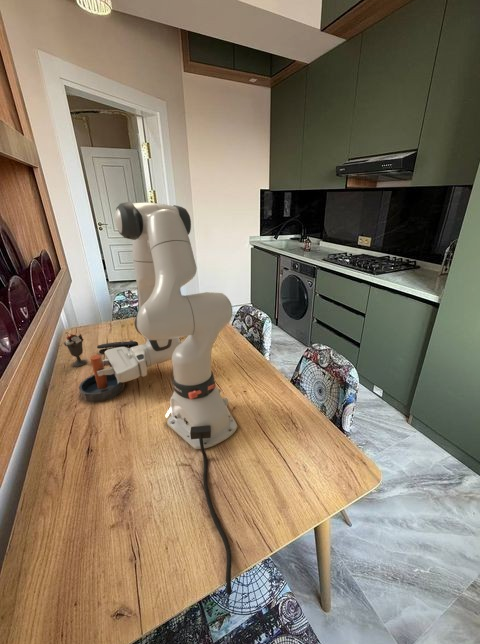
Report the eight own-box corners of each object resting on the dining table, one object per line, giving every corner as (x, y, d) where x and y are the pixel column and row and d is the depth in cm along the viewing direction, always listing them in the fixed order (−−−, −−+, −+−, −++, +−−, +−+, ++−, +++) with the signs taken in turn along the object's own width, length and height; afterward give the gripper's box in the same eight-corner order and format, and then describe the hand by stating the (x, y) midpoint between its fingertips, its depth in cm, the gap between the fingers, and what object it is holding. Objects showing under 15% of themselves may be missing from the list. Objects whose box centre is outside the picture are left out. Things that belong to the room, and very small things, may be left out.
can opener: (142, 349, 130) (140, 338, 127) (136, 357, 123) (133, 345, 121) (103, 348, 130) (100, 337, 127) (94, 356, 123) (91, 344, 121)
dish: (129, 392, 101) (127, 384, 100) (85, 408, 93) (82, 399, 92) (119, 375, 111) (117, 367, 109) (78, 387, 103) (76, 379, 102)
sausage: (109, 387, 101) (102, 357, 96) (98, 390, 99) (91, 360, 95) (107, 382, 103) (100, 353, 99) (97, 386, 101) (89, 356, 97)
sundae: (67, 369, 114) (58, 334, 108) (73, 360, 120) (64, 327, 114) (86, 366, 116) (77, 333, 110) (90, 358, 122) (82, 326, 116)
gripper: (128, 339, 112) (88, 350, 104) (145, 361, 97) (100, 376, 89) (131, 354, 115) (92, 365, 107) (148, 377, 100) (104, 392, 92)
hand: (95, 370), depth 98 cm, fingers closed on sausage, 3 cm apart
